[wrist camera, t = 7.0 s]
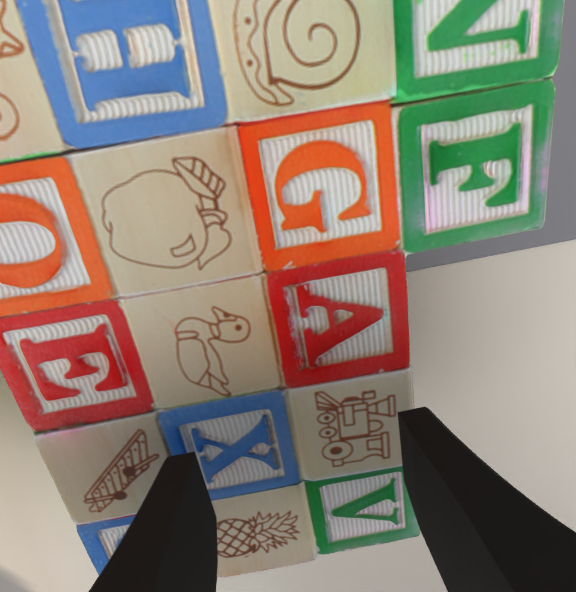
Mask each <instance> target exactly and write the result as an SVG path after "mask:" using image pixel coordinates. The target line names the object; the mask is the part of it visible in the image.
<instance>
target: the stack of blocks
mask: <svg viewBox="0 0 576 592" xmlns="http://www.w3.org/2000/svg"><path fill="white" fill-rule="evenodd" d="M564 2H565V0H0V369H1V371H2V373H3V375H4V377H5V379H6V382H7V384H8V386H9V388H10V390H11V392H12V394H13V396H14V398H15V400H16V402H17V404H18V406H19V408H20V410H21V412H22V414H23V416H24V418H25V421H26V423H27V424H28V425H29V426H30V427H31V428H32V430H33V439H34V441H35V443H36V445H37V447H38V450H39V452H40V454H41V456H42V458H43V460H44V462H45V464H46V466H47V468H48V470H49V472H50V474H51V476H52V478H53V480H54V482H55V484H56V486H57V489H58V491H59V493H60V495H61V497H62V499H63V502H64V504H65V506H66V508H67V510H68V512H69V514H70V516H71V518H72V520H73V522H74V523H75V524H76V527H77V532H78V534H79V536H80V538H81V540H82V542H83V544H84V546H85V548H86V551H87V553H88V555H89V557H90V559H91V561H92V563H93V565H94V567H95V569H96V571H97V573H98V575H100V573H101V572H102V570H103V569H104V567H105V566H106V564H107V562H108V561H109V559H110V558H111V556H112V555H113V553H114V551H115V550H116V548H117V546H118V545H119V543H120V541H121V540H122V538H123V536H124V534H125V533H126V531H127V529H128V527H129V526H130V524H131V522H132V521H133V519H134V517H135V515H136V514H137V512H138V510H139V508H140V506H141V504H142V503H143V501H144V499H145V497H146V495H147V493H148V491H149V489H150V487H151V486H152V484H153V482H154V480H155V478H156V476H157V474H158V472H159V470H160V468H161V466H162V464H163V462H164V461H165V459H166V458H167V457H169V456H174V455H179V454H184V453H189V452H195V453H196V456H197V459H198V462H199V465H200V469H201V472H202V475H203V478H204V481H205V484H206V487H207V490H208V493H209V496H210V499H211V502H212V505H213V508H214V511H215V514H216V518H217V549H218V568H217V577H229V576H235V575H240V574H245V573H251V572H257V571H263V570H268V569H273V568H278V567H283V566H288V565H294V564H299V563H304V562H308V561H312V560H315V559H316V557H317V554H329V553H335V552H341V551H347V550H351V549H355V548H360V547H365V546H371V545H377V544H383V543H388V542H393V541H397V540H402V539H406V538H411V537H416V536H419V534H420V528H419V525H418V522H417V519H416V516H415V513H414V510H413V507H412V504H411V501H410V498H409V495H408V492H407V489H406V485H405V482H404V476H403V465H402V455H401V444H400V433H399V423H398V412H401V411H406V410H411V409H414V396H413V380H412V367H411V365H410V356H409V326H408V305H407V283H406V264H405V258H406V256H407V255H409V254H413V253H418V252H422V251H427V250H432V249H437V248H442V247H447V246H452V245H458V244H463V243H468V242H473V241H478V240H484V239H489V238H494V237H499V236H504V235H509V234H513V233H518V232H523V231H529V230H537V229H541V228H542V227H543V224H544V221H545V209H546V196H547V184H548V172H549V161H550V149H551V137H552V125H553V113H554V101H555V86H554V83H553V81H552V79H551V78H552V76H553V74H554V73H555V71H556V69H557V66H558V62H559V58H560V46H561V31H562V21H563V11H564Z"/></svg>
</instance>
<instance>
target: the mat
mask: <svg viewBox="0 0 576 592" xmlns="http://www.w3.org/2000/svg"><path fill="white" fill-rule="evenodd" d="M551 79H552V81H553V83H554V86H555V101H554V113H553V125H552V137H551V149H550V161H549V172H548V184H547V196H546V209H545V221H544V224H543V227H542V228H541V229H537V230H529V231H523V232H518V233H513V234H509V235H504V236H499V237H494V238H489V239H484V240H478V241H473V242H468V243H463V244H458V245H452V246H447V247H442V248H437V249H432V250H427V251H422V252H418V253H413V254H409V255H407V256H406V258H405V264H406V272H409V271H415V270H420V269H425V268H430V267H435V266H440V265H445V264H451V263H456V262H461V261H466V260H471V259H476V258H481V257H487V256H492V255H497V254H502V253H507V252H512V251H517V250H523V249H528V248H533V247H538V246H543V245H548V244H553V243H559V242H564V241H569V240H574V239H576V0H565V2H564V11H563V21H562V31H561V46H560V58H559V62H558V66H557V69H556V71H555V73H554V74H553V76H552V78H551Z"/></svg>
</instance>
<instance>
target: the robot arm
mask: <svg viewBox="0 0 576 592" xmlns="http://www.w3.org/2000/svg"><path fill="white" fill-rule="evenodd" d="M398 423H399V433H400V444H401V455H402V465H403V476H404V482H405V485H406V489H407V492H408V495H409V498H410V501H411V504H412V507H413V510H414V513H415V516H416V519H417V522H418V525H419V528H420V530H421V532H422V534H423V537H424V539H425V541H426V544H427V546H428V548H429V550H430V553H431V555H432V557H433V559H434V562H435V564H436V566H437V568H438V570H439V573H440V575H441V577H442V579H443V582H444V584H445V586H446V588H447V591H448V592H576V532H574V531H573V530H571V529H570V528H568V527H567V526H565V525H564V524H562V523H561V522H560V521H558V520H557V519H555V518H554V517H553V516H551V515H550V514H548V513H547V512H546V511H544V510H543V509H542V508H540V507H539V506H538V505H536V504H535V503H534V502H532V501H531V500H530V499H529V498H527V497H526V496H525V495H523V494H522V493H521V492H520V491H518V490H517V489H516V488H514V487H513V486H512V485H511V484H510V483H508V482H507V481H506V480H505V479H503V478H502V477H501V476H500V475H499V474H498V473H496V472H495V471H494V470H493V469H492V468H491V467H489V466H488V465H487V464H486V463H485V462H484V461H483V460H481V459H480V458H479V457H478V456H477V455H476V454H475V453H474V452H472V451H471V450H470V449H469V448H468V447H467V446H466V445H465V444H464V443H463V442H462V441H461V440H460V439H458V438H457V437H456V436H455V435H454V434H453V433H452V432H451V431H450V430H449V429H448V428H447V427H446V426H445V425H444V424H443V423H442V422H441V421H440V420H439V419H438V418H437V417H436V416H435V415H434V414H433V413H432V412H431V410H429V409H428V408H426V407H421V408H416V409H411V410H406V411H401V412H398ZM217 568H218V549H217V518H216V514H215V511H214V508H213V505H212V502H211V499H210V496H209V493H208V490H207V487H206V484H205V481H204V478H203V475H202V472H201V469H200V465H199V462H198V459H197V456H196V453H195V452H189V453H184V454H179V455H174V456H169V457H167V458H166V459H165V461H164V462H163V464H162V466H161V468H160V470H159V472H158V474H157V476H156V478H155V480H154V482H153V484H152V486H151V487H150V489H149V491H148V493H147V495H146V497H145V499H144V501H143V503H142V504H141V506H140V508H139V510H138V512H137V514H136V515H135V517H134V519H133V521H132V522H131V524H130V526H129V527H128V529H127V531H126V533H125V534H124V536H123V538H122V540H121V541H120V543H119V545H118V546H117V548H116V550H115V551H114V553H113V555H112V556H111V558H110V559H109V561H108V562H107V564H106V566H105V567H104V569H103V570H102V572H101V573H100V575H99V577H98V578H97V580H96V581H95V583H94V584H93V586H92V587H91V589H90V590H89V592H216V582H217Z"/></svg>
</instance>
